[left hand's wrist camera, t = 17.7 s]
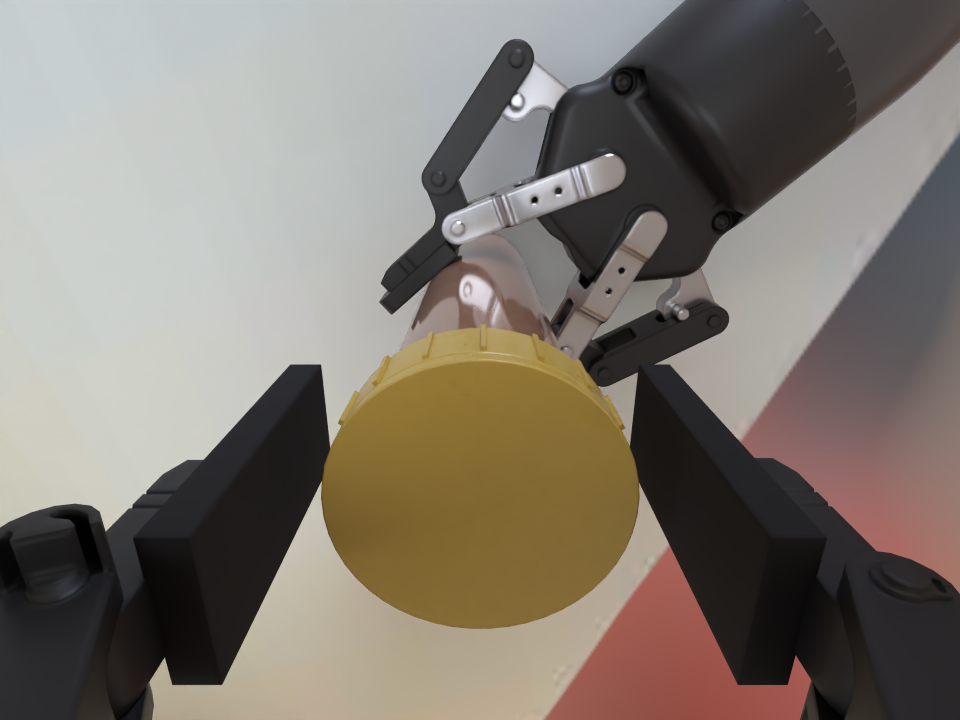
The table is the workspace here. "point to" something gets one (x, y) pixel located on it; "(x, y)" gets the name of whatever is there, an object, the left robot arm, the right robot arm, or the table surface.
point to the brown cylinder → (482, 294)
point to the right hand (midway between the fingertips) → (435, 351)
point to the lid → (480, 480)
